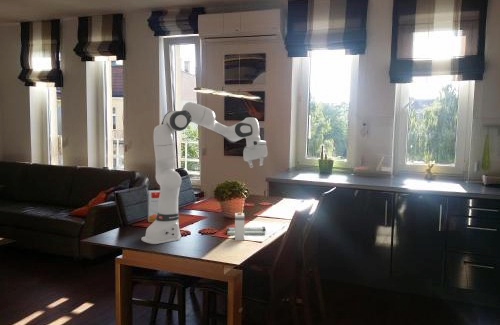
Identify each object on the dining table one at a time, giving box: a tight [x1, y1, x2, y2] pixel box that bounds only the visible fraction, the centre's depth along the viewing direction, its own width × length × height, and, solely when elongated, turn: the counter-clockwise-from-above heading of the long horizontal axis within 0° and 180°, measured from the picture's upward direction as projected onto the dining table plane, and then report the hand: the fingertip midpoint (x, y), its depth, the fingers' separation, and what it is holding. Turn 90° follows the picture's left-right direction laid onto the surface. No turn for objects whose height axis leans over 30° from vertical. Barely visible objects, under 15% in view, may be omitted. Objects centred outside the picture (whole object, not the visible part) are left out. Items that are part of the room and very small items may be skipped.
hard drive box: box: [147, 189, 160, 223], centre depth 283 cm, size 16×8×20 cm, turn 105°
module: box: [234, 211, 245, 241], centre depth 244 cm, size 7×5×15 cm
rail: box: [226, 226, 266, 232], centre depth 258 cm, size 23×5×2 cm, turn 93°
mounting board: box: [226, 230, 266, 236], centre depth 258 cm, size 22×10×2 cm, turn 93°
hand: (256, 166), depth 261 cm, fingers open, 8 cm apart
